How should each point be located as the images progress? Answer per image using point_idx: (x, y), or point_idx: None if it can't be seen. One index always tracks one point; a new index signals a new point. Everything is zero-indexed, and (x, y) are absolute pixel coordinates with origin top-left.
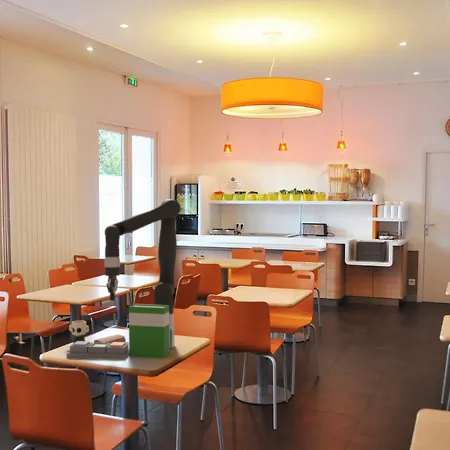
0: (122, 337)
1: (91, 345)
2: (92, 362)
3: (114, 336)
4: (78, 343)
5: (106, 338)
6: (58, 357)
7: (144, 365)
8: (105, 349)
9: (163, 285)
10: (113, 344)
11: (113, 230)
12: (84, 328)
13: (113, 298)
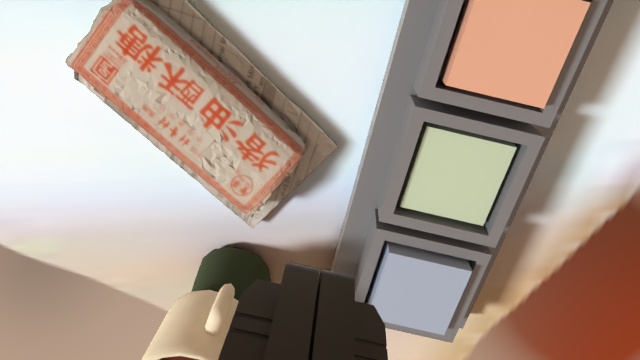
0: (146, 18)
1: (464, 230)
2: (612, 183)
3: (147, 85)
4: (437, 309)
5: (212, 141)
6: (443, 346)
7: None
8: (535, 130)
9: None
10: (538, 80)
11: None
12: (225, 324)
13: (357, 323)
